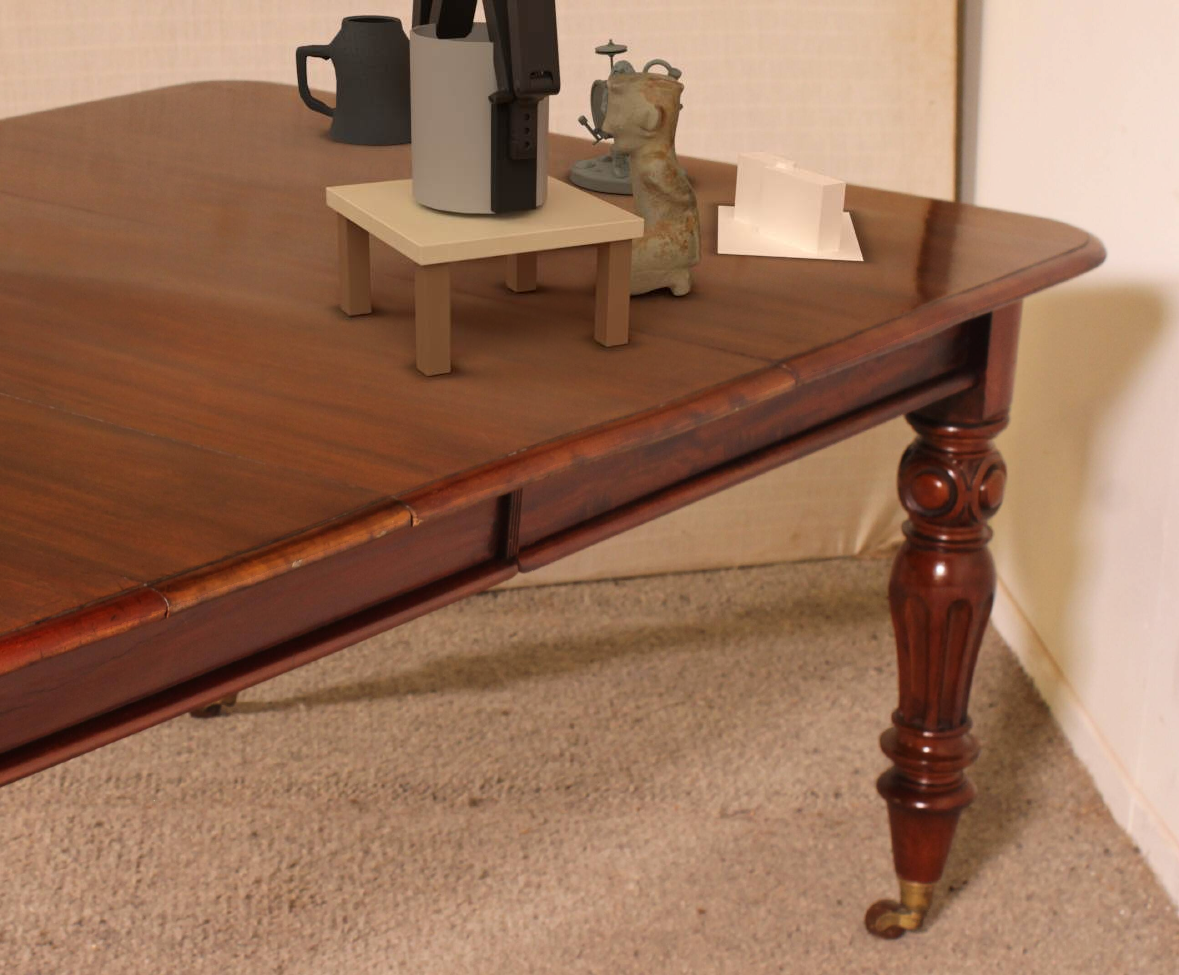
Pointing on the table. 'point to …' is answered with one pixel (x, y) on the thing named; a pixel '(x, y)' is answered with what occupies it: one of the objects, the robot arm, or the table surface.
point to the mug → (365, 81)
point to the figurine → (609, 169)
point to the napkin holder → (786, 213)
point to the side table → (479, 252)
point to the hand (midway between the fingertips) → (481, 192)
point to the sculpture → (655, 180)
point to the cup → (458, 121)
